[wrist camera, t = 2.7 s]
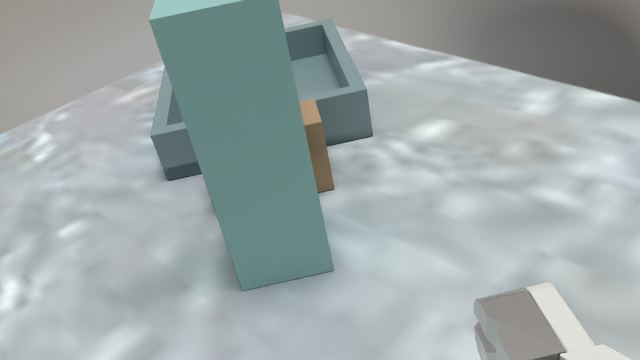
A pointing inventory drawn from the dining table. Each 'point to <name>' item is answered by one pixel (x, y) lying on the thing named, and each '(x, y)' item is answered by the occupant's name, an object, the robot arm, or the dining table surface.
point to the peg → (246, 132)
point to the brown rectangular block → (316, 145)
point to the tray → (311, 83)
